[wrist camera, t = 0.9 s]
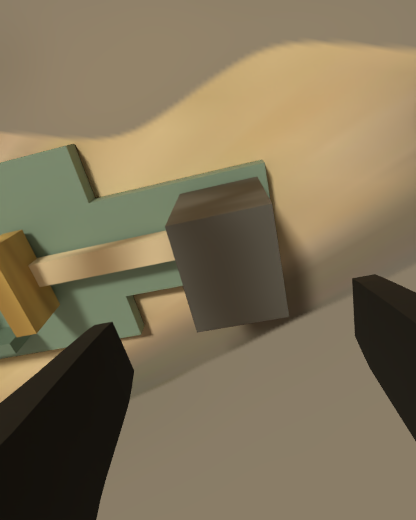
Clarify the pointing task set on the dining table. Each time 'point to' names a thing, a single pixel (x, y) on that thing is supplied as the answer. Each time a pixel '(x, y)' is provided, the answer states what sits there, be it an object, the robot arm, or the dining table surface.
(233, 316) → the block ended dumbbell
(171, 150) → the dining table surface
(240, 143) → the dining table surface
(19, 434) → the robot arm
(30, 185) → the green long flat piece
